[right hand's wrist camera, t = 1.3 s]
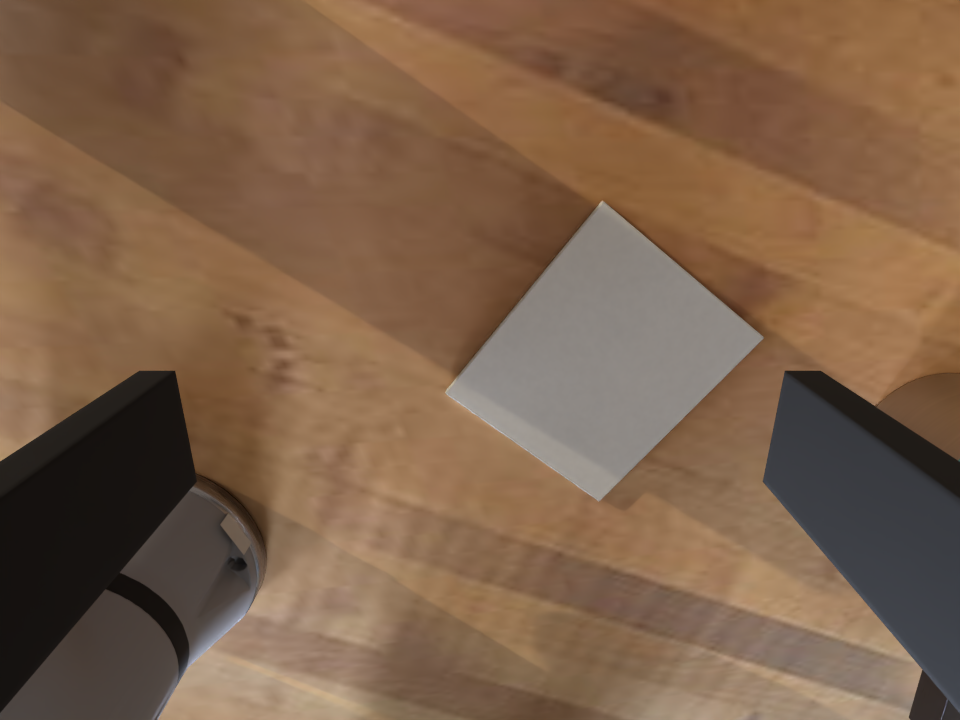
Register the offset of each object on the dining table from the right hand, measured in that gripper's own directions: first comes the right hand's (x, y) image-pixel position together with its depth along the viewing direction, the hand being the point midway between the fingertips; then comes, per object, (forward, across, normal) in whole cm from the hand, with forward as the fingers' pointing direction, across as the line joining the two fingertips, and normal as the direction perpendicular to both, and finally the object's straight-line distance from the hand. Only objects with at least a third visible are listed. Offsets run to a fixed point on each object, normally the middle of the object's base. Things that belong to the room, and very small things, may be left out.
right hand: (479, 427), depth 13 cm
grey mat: (+25, -8, +8) cm, 27 cm away
